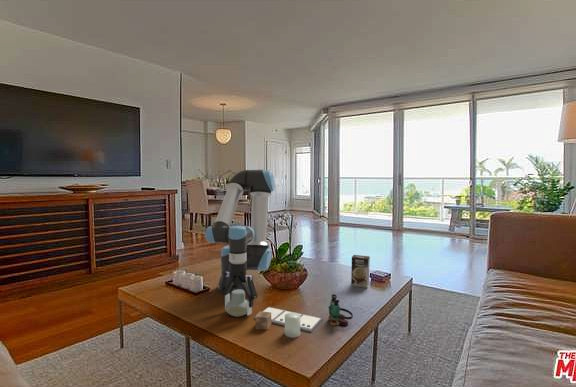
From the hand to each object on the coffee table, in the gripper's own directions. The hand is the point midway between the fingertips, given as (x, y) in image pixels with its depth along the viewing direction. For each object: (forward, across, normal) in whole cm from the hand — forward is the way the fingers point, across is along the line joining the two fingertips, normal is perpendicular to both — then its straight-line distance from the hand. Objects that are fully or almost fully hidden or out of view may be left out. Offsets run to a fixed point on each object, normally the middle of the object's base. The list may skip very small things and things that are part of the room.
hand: (238, 311), depth 141 cm
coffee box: (+1, +38, +61) cm, 72 cm away
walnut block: (+1, +16, -5) cm, 17 cm away
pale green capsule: (+1, +29, -5) cm, 29 cm away
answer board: (+1, +22, +5) cm, 23 cm away
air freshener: (+1, 0, 0) cm, 1 cm away
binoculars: (+1, +42, +13) cm, 44 cm away
